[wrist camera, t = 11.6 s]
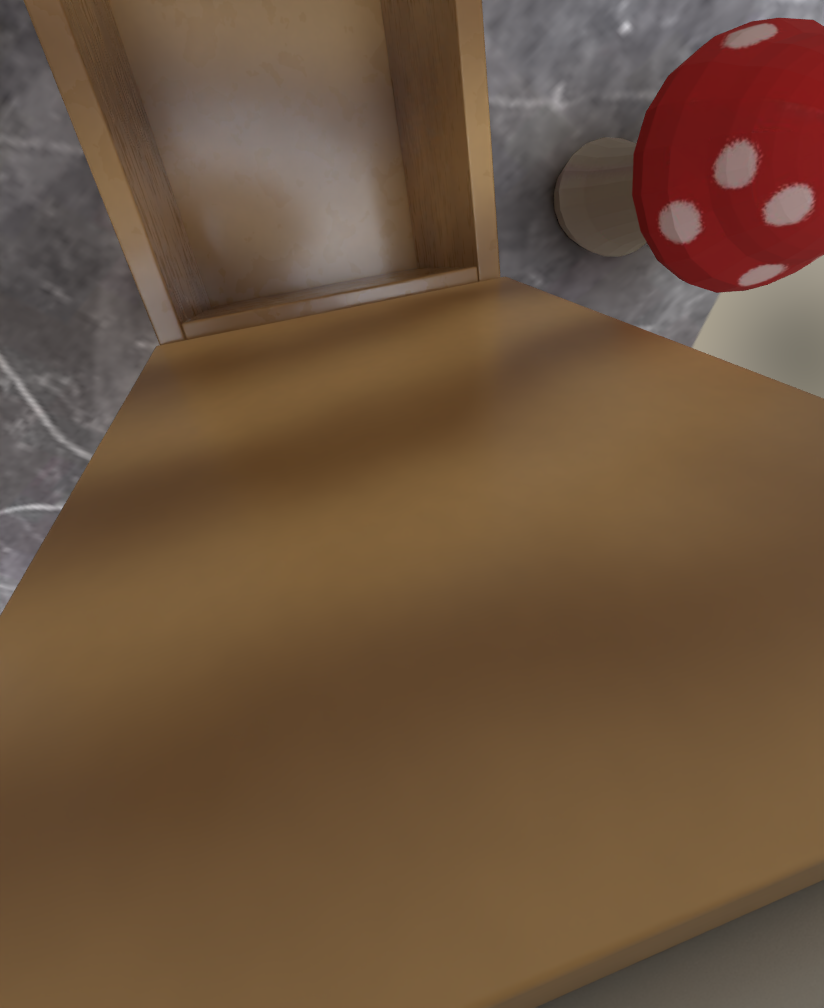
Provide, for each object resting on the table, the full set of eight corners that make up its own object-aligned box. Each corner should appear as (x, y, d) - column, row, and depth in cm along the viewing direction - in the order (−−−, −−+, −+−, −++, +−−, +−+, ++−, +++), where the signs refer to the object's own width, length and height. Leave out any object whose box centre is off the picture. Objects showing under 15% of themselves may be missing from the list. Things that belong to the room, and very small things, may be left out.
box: (35, -150, 18) (-197, -554, 9) (372, -167, 19) (448, -515, 11) (201, 326, 25) (163, 355, 17) (430, 282, 27) (501, 286, 19)
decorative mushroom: (698, 161, 28) (1063, 67, 15) (625, 309, 31) (880, 338, 18) (564, 68, 25) (892, -164, 11) (496, 245, 27) (696, 222, 14)
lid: (-481, 1428, 2) (81, 1276, 5) (1392, 612, 4) (1031, 838, 7) (155, 345, 16) (208, 465, 19) (506, 276, 18) (507, 394, 21)
